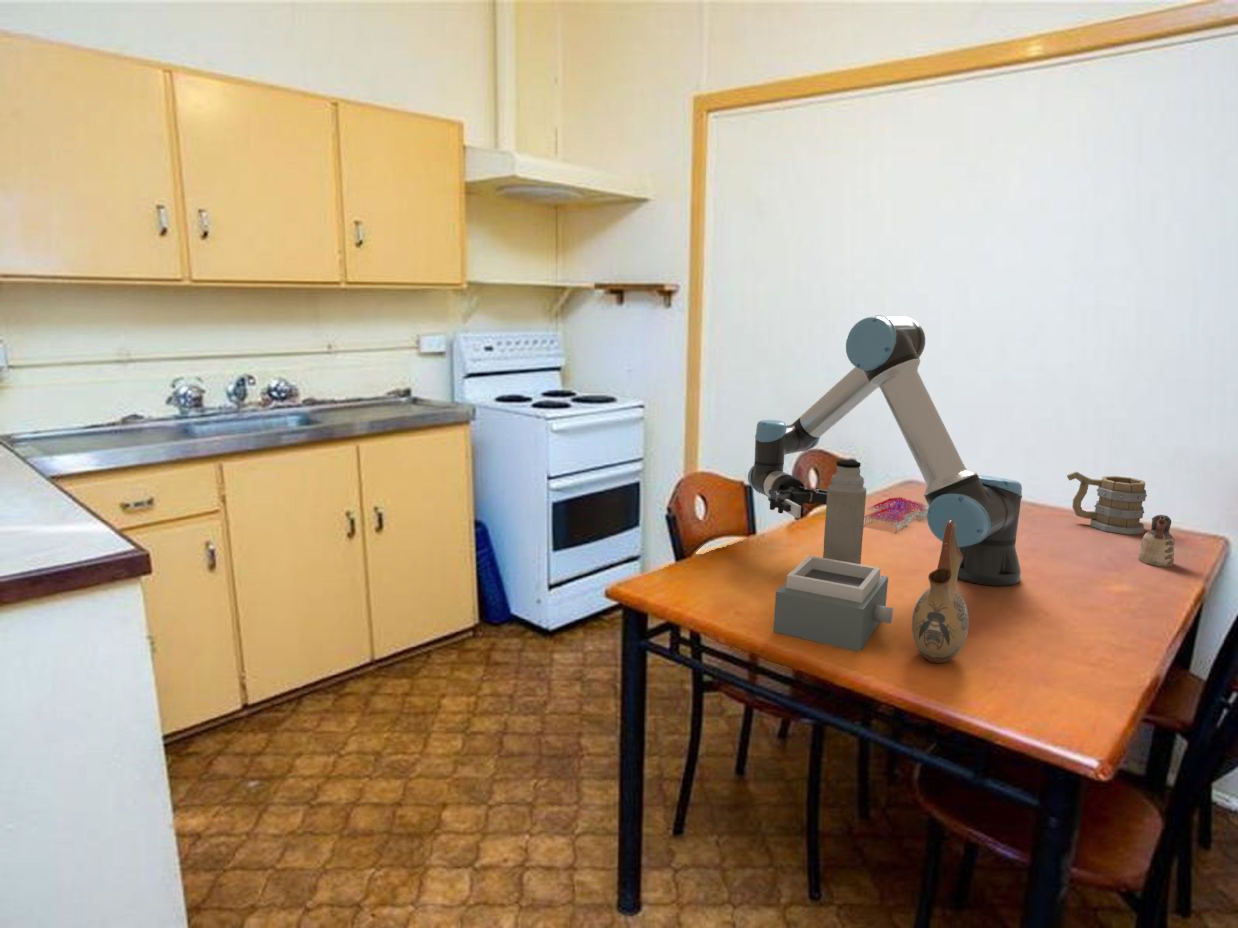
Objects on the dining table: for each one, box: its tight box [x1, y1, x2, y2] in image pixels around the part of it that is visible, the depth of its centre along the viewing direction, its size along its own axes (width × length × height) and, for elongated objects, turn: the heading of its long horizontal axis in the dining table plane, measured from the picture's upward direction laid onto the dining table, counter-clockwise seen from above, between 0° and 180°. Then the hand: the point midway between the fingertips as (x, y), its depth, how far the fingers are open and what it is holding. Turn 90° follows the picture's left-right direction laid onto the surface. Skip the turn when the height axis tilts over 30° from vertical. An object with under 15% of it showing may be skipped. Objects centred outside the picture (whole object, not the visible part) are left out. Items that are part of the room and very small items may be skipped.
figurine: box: [1138, 514, 1175, 568], centre depth 189 cm, size 7×7×12 cm
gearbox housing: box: [773, 555, 894, 653], centre depth 149 cm, size 19×20×10 cm
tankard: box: [1066, 471, 1148, 536], centre depth 220 cm, size 20×13×15 cm, turn 58°
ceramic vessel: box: [911, 520, 970, 664], centre depth 134 cm, size 16×9×25 cm, turn 148°
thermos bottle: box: [822, 459, 867, 565], centre depth 167 cm, size 8×8×28 cm
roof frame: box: [864, 496, 929, 532], centre depth 226 cm, size 30×15×5 cm, turn 139°
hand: (827, 510), depth 173 cm, fingers open, 13 cm apart
